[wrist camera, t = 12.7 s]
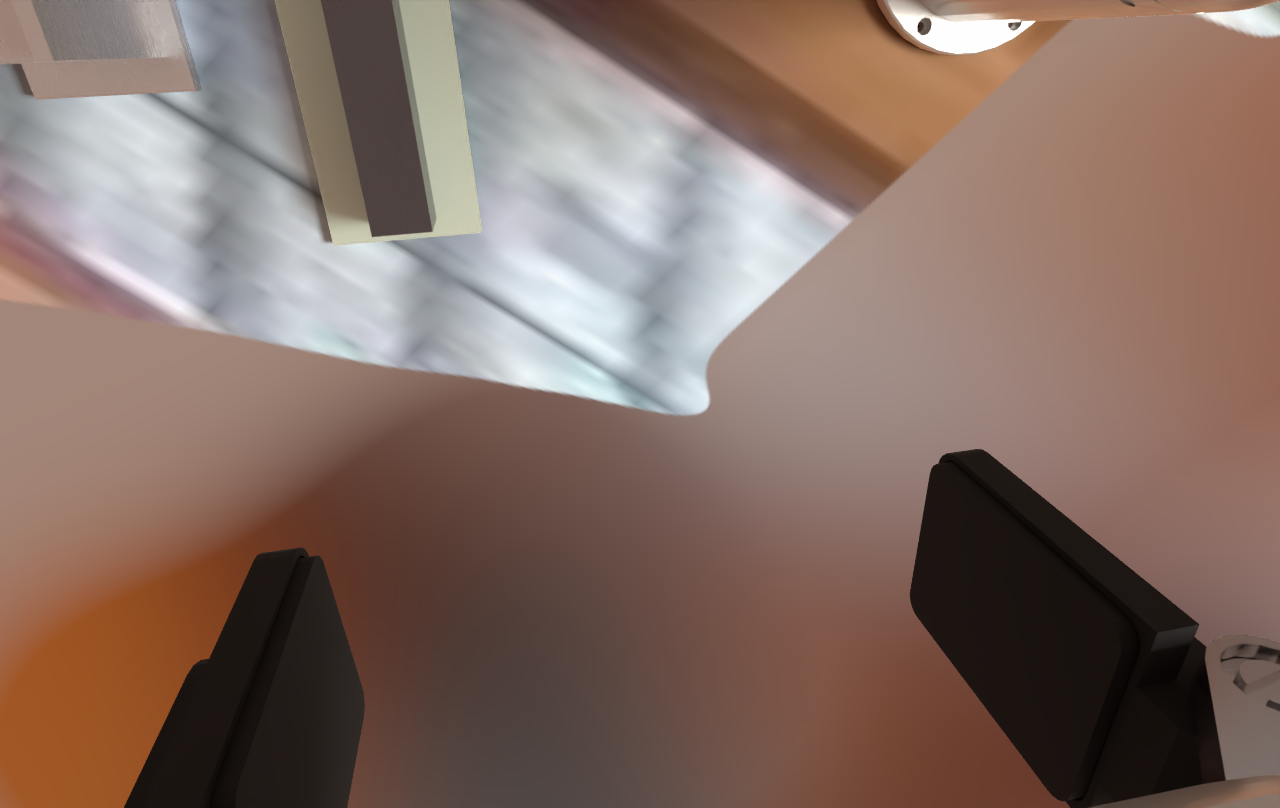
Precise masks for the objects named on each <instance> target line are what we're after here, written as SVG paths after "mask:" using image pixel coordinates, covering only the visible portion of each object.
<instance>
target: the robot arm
mask: <svg viewBox="0 0 1280 808" xmlns="http://www.w3.org/2000/svg"><path fill="white" fill-rule="evenodd" d="M876 1H877V4H878V6H879V8H880V9H881V11H882V13H883V14H884V16H885V17H886V19H887V21H888V22H889V24H890V25H891V26H892V27H893V28H894V29H895V30H896V31H897V32H898V33H899V34H900V35H901V36H902V37H903V38H904V39H906V40H907V41H909V42H910V43H912V44H914V45H915V46H917V47H919V48H920V49H924V50H927V51H930V52H933V53H936V54H946V55H968V54H977V53H980V52H984V51H987V50H991V49H994V48H996V47H998V46H1000V45H1002V44H1004V43H1006V42H1008V41H1010V40H1012V39H1014V38H1015V37H1016V36H1018V35H1019V34H1020V33H1022V32H1023V31H1025V30H1026V29H1027V28H1029V27H1030V26H1031V25H1032V24H1033V23H1034V22H1035V21H1050V20H1072V19H1093V18H1115V17H1136V16H1159V15H1180V14H1200V13H1211V12H1228V11H1238V10H1245V9H1251V8H1256V7H1261V6H1264V5H1268V4H1271V3H1275V2H1278V1H1280V0H876ZM918 23H919V30H918V31H917V25H918ZM910 600H911V605H912V608H913V610H914V613H915V614H916V616H917V617H918V619H919V620H920V621H921V622H922V624H923V625H924V627H925V628H926V629H927V631H928V632H929V633H930V635H931V636H932V637H933V639H934V640H935V641H936V643H937V644H938V645H939V647H940V648H941V649H942V651H943V652H944V653H945V654H946V656H947V657H948V658H949V660H950V661H951V662H952V664H953V665H954V666H955V668H956V669H957V670H958V672H959V673H960V674H961V676H962V677H963V678H964V680H965V681H966V682H967V684H968V685H969V686H970V688H971V689H972V690H973V692H974V693H975V694H976V696H977V697H978V698H979V700H980V701H981V702H982V703H983V705H984V706H985V708H986V709H987V710H988V712H989V713H990V714H991V715H992V717H993V718H994V719H995V721H996V722H997V723H998V725H999V726H1000V727H1001V729H1002V730H1003V732H1004V733H1005V734H1006V735H1007V737H1008V738H1009V739H1010V741H1011V742H1012V743H1013V745H1014V746H1015V747H1016V749H1017V750H1018V751H1019V753H1020V754H1021V755H1022V757H1023V758H1024V759H1025V761H1026V762H1027V763H1028V765H1029V766H1030V767H1031V769H1032V770H1033V771H1034V773H1035V774H1036V775H1037V777H1038V778H1039V779H1040V780H1041V782H1042V783H1043V785H1044V786H1045V787H1046V788H1047V790H1048V791H1049V792H1050V793H1051V794H1052V796H1054V797H1055V798H1056V799H1058V800H1060V801H1066V802H1067V804H1068V805H1069V806H1070V808H1280V643H1278V642H1275V641H1271V640H1269V639H1264V638H1259V637H1254V636H1248V635H1227V636H1223V637H1220V638H1217V639H1214V640H1213V641H1212V642H1211V643H1210V644H1209V645H1208V646H1207V647H1206V646H1205V645H1203V644H1202V643H1201V642H1200V641H1198V640H1197V639H1196V638H1195V637H1194V636H1195V634H1196V631H1197V629H1198V626H1199V624H1198V623H1197V622H1196V621H1194V620H1193V619H1192V618H1191V617H1189V616H1188V615H1187V614H1186V613H1184V612H1183V611H1182V610H1181V609H1180V608H1178V607H1177V606H1176V605H1174V604H1173V603H1172V602H1171V601H1170V600H1168V599H1167V598H1166V597H1165V596H1163V595H1162V594H1161V593H1160V592H1159V591H1157V590H1156V589H1155V588H1154V587H1152V586H1151V585H1150V584H1149V583H1148V582H1146V581H1145V580H1144V579H1143V578H1141V577H1140V576H1139V575H1137V574H1136V573H1135V572H1134V571H1133V570H1131V569H1130V568H1129V567H1128V566H1126V565H1125V564H1124V563H1123V562H1122V561H1120V560H1119V559H1118V558H1117V557H1115V556H1114V555H1113V554H1112V553H1111V552H1109V551H1108V550H1107V549H1106V548H1104V547H1103V546H1102V545H1101V544H1100V543H1098V542H1097V541H1096V540H1094V539H1093V538H1092V537H1091V536H1090V535H1088V534H1087V533H1086V532H1085V531H1083V530H1082V529H1081V528H1080V527H1079V526H1077V525H1076V524H1075V523H1074V522H1072V521H1071V520H1070V519H1069V518H1067V517H1066V516H1065V515H1064V514H1063V513H1061V512H1060V511H1059V510H1057V509H1056V508H1055V507H1054V506H1053V505H1051V504H1050V503H1049V502H1047V500H1045V499H1044V498H1043V497H1042V496H1040V495H1039V494H1038V493H1037V492H1035V491H1034V490H1033V489H1032V488H1031V487H1029V486H1028V485H1027V484H1026V483H1024V482H1023V481H1022V480H1021V479H1019V478H1018V477H1017V476H1016V475H1014V474H1013V473H1012V472H1011V471H1010V470H1008V469H1007V468H1006V467H1004V466H1003V465H1002V464H1001V463H1000V462H999V461H997V460H996V459H995V458H994V457H992V456H991V455H990V454H989V453H987V452H986V451H984V450H982V449H974V450H968V451H961V452H954V453H947V454H945V455H943V456H942V457H941V459H940V461H939V464H936V465H934V466H933V468H932V469H931V472H930V477H929V483H928V489H927V495H926V501H925V506H924V513H923V518H922V524H921V531H920V536H919V542H918V548H917V555H916V560H915V566H914V572H913V578H912V584H911V590H910ZM364 706H365V705H364V692H363V689H362V685H361V682H360V678H359V675H358V672H357V669H356V666H355V662H354V659H353V656H352V653H351V650H350V646H349V643H348V640H347V636H346V633H345V630H344V627H343V624H342V620H341V617H340V614H339V611H338V608H337V604H336V601H335V598H334V595H333V591H332V588H331V585H330V582H329V579H328V576H327V572H326V569H325V566H324V563H323V560H322V559H321V557H320V556H311V557H309V555H308V553H307V552H306V550H305V549H304V548H295V549H288V550H281V551H274V552H267V553H261V554H259V555H257V556H256V558H255V559H254V561H253V564H252V566H251V568H250V570H249V572H248V575H247V577H246V579H245V581H244V584H243V586H242V588H241V590H240V592H239V594H238V597H237V599H236V601H235V603H234V605H233V608H232V610H231V612H230V614H229V616H228V619H227V621H226V623H225V625H224V627H223V630H222V632H221V634H220V636H219V638H218V641H217V643H216V645H215V647H214V649H213V652H212V654H211V656H210V658H209V659H205V660H200V661H199V662H197V663H196V664H195V665H194V666H193V667H192V669H191V670H190V672H189V673H188V675H187V677H186V678H185V681H184V683H183V685H182V687H181V689H180V691H179V693H178V695H177V697H176V699H175V702H174V704H173V706H172V708H171V710H170V712H169V714H168V716H167V719H166V720H165V723H164V725H163V727H162V729H161V731H160V733H159V735H158V737H157V739H156V741H155V743H154V746H153V748H152V750H151V752H150V754H149V756H148V758H147V760H146V762H145V765H144V767H143V769H142V771H141V773H140V775H139V777H138V779H137V781H136V783H135V785H134V787H133V790H132V792H131V794H130V796H129V798H128V800H127V802H126V804H125V806H124V808H347V805H348V800H349V794H350V789H351V783H352V778H353V773H354V767H355V761H356V756H357V750H358V745H359V740H360V734H361V729H362V723H363V718H364Z"/></svg>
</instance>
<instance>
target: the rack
mask: <svg viewBox="0 0 1280 808" xmlns="http://www.w3.org/2000/svg"><path fill="white" fill-rule="evenodd" d="M3 64H21V65H22V68H23V70H24V73H25V75H26V78H27V80H28V83H29V85H30V88H31V90H32V93H33V95H34V98H35V99H53V98H71V97H90V96H108V95H127V94H145V93H164V92H182V91H198V90H201V87H200V83H199V80H198V77H197V73H196V70H195V66H194V63H193V60H192V56H191V53H190V50H189V46H188V43H187V39H186V36H185V33H184V29H183V26H182V23H181V19H180V16H179V12H178V9H177V6H176V2H175V0H0V65H3Z"/></svg>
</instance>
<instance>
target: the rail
mask: <svg viewBox="0 0 1280 808" xmlns="http://www.w3.org/2000/svg"><path fill="white" fill-rule="evenodd" d="M321 4H322V9H323V13H324V18H325V23H326V27H327V32H328V36H329V41H330V46H331V50H332V55H333V60H334V64H335V69H336V73H337V78H338V83H339V87H340V92H341V97H342V101H343V106H344V110H345V115H346V120H347V124H348V129H349V134H350V138H351V143H352V148H353V152H354V157H355V161H356V166H357V171H358V175H359V180H360V185H361V189H362V194H363V198H364V203H365V208H366V212H367V217H368V222H369V226H370V231H371V235H372V237H380V236H391V235H403V234H414V233H426V232H433V229H434V226H435V222H436V219H437V218H436V213H435V207H434V201H433V195H432V189H431V184H430V178H429V172H428V166H427V161H426V155H425V149H424V143H423V137H422V132H421V126H420V120H419V114H418V108H417V103H416V97H415V91H414V85H413V79H412V74H411V68H410V62H409V56H408V50H407V45H406V39H405V33H404V27H403V21H402V16H401V10H400V4H399V0H321Z"/></svg>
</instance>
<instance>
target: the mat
mask: <svg viewBox="0 0 1280 808" xmlns="http://www.w3.org/2000/svg"><path fill="white" fill-rule="evenodd" d="M274 1H275V5H276V9H277V14H278V18H279V22H280V26H281V30H282V34H283V39H284V43H285V47H286V51H287V55H288V59H289V63H290V68H291V72H292V76H293V80H294V84H295V88H296V93H297V97H298V101H299V105H300V109H301V113H302V117H303V122H304V126H305V130H306V134H307V138H308V142H309V146H310V151H311V155H312V159H313V163H314V167H315V171H316V176H317V180H318V184H319V188H320V192H321V196H322V200H323V205H324V209H325V213H326V217H327V221H328V225H329V229H330V234H331V238H332V242H333V245H345V244H356V243H368V242H379V241H391V240H403V239H414V238H426V237H437V236H449V235H461V234H472V233H482V226H481V219H480V212H479V205H478V198H477V191H476V184H475V177H474V170H473V164H472V157H471V150H470V143H469V136H468V129H467V122H466V115H465V108H464V101H463V94H462V87H461V80H460V73H459V66H458V59H457V52H456V45H455V38H454V31H453V24H452V17H451V10H450V3H449V0H399V4H400V10H401V16H402V21H403V27H404V33H405V39H406V45H407V50H408V56H409V62H410V68H411V74H412V79H413V85H414V91H415V97H416V103H417V108H418V114H419V120H420V126H421V132H422V137H423V143H424V149H425V155H426V161H427V166H428V172H429V178H430V184H431V189H432V195H433V201H434V207H435V213H436V218H437V219H436V222H435V226H434V229H433V232H426V233H414V234H403V235H391V236H380V237H372V235H371V231H370V226H369V222H368V217H367V212H366V208H365V203H364V198H363V194H362V189H361V185H360V180H359V175H358V171H357V166H356V161H355V157H354V152H353V148H352V143H351V138H350V134H349V129H348V124H347V120H346V115H345V110H344V106H343V101H342V97H341V92H340V87H339V83H338V78H337V73H336V69H335V64H334V60H333V55H332V50H331V46H330V41H329V36H328V32H327V27H326V23H325V18H324V13H323V9H322V4H321V0H274Z"/></svg>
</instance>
